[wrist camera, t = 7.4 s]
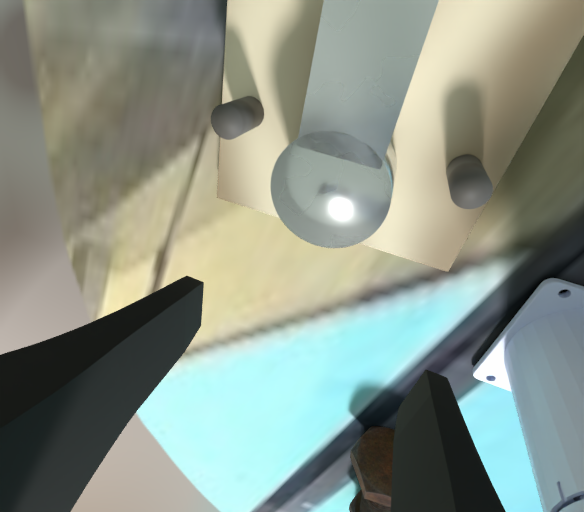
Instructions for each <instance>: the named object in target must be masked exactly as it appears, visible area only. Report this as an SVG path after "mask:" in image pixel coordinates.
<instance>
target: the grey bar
mask: <svg viewBox="0 0 584 512" xmlns="http://www.w3.org/2000/svg"><path fill="white" fill-rule="evenodd" d="M438 2H439V0H324V2H323V7H322V13H321V18H320V23H319V29H318V34H317V39H316V45H315V50H314V55H313V61H312V66H311V71H310V77H309V82H308V88H307V93H306V98H305V104H304V109H303V114H302V120H301V125H300V130H299V136H298V138H297V139H296V140H294V141H293V142H292V143H291V144H289V145H288V146H287V147H286V148H285V149H284V150H283V152H282V153H281V154H280V156H279V157H278V159H277V161H276V163H275V165H274V168H273V171H272V175H271V184H270V186H271V196H272V201H273V204H274V207H275V209H276V212H277V214H278V215H279V217H280V219H281V220H282V222H283V223H284V224H285V225H286V226H287V228H288V229H289V230H290V231H292V232H293V233H294V234H295V235H297V236H298V237H299V238H301V239H303V240H305V241H307V242H309V243H311V244H314V245H317V246H321V247H326V248H343V247H348V246H352V245H355V244H358V243H360V242H362V241H364V240H366V239H367V238H369V237H370V236H371V235H372V234H374V233H375V232H376V231H377V230H378V228H379V227H380V226H381V225H382V223H383V222H384V220H385V218H386V216H387V214H388V211H389V208H390V204H391V199H392V193H393V187H394V182H395V176H396V170H397V159H396V153H395V149H394V147H393V144H392V142H391V138H392V135H393V132H394V129H395V126H396V123H397V120H398V117H399V114H400V111H401V109H402V106H403V103H404V100H405V97H406V94H407V91H408V88H409V85H410V83H411V80H412V77H413V74H414V71H415V68H416V65H417V62H418V59H419V57H420V54H421V51H422V48H423V45H424V42H425V39H426V36H427V33H428V31H429V28H430V25H431V22H432V19H433V16H434V13H435V10H436V7H437V4H438Z"/></svg>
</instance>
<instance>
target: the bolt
mask: <svg viewBox="0 0 584 512" xmlns="http://www.w3.org/2000/svg"><path fill="white" fill-rule="evenodd" d="M394 434H395V430H394V429H390V428H387V427H381V426H372V427H370V428H369V429H368V430H367V431H366V432H365V433H364V434H363V435H362V436H361V437H360V439H359V440H358V441H357V442H356V444H355V445H354V447H353V448H352V450H351V454H350V458H351V461H352V464H353V467H354V470H355V473H356V476H357V478H358V481H359V484H360V487H361V490H360V491H359V492H358V494H357V495H356V496H355V498H354V499H353V500H352V502H351V503H350V507H349V510H350V512H391V492H392V463H393V441H394Z"/></svg>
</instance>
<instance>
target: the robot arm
mask: <svg viewBox="0 0 584 512" xmlns="http://www.w3.org/2000/svg"><path fill="white" fill-rule="evenodd" d="M203 285H204V282H201V281H199V280H196V279H194V278H191V277H189V276H185V277H183V278H181V279H179V280H177V281H175V282H173V283H171V284H170V285H168V286H166V287H164V288H162V289H160V290H158V291H156V292H154V293H152V294H150V295H148V296H146V297H144V298H142V299H140V300H138V301H136V302H134V303H132V304H130V305H128V306H126V307H124V308H122V309H120V310H118V311H116V312H114V313H111V314H109V315H107V316H105V317H102V318H100V319H98V320H96V321H93V322H91V323H89V324H87V325H84V326H82V327H79V328H77V329H74V330H72V331H69V332H67V333H64V334H62V335H59V336H56V337H54V338H51V339H48V340H46V341H43V342H40V343H37V344H34V345H31V346H28V347H24V348H21V349H18V350H15V351H11V352H8V353H5V354H2V355H0V512H70V511H71V510H72V508H73V506H74V505H75V503H76V502H77V500H78V498H79V497H80V495H81V494H82V492H83V490H84V489H85V487H86V485H87V484H88V482H89V481H90V479H91V478H92V476H93V474H94V473H95V472H96V470H97V468H98V467H99V465H100V464H101V462H102V461H103V459H104V458H105V456H106V454H107V453H108V451H109V450H110V448H111V447H112V445H113V444H114V442H115V441H116V440H117V438H118V436H119V435H120V434H121V432H122V431H123V429H124V428H125V426H126V425H127V423H128V422H129V420H130V419H131V418H132V416H133V415H134V414H135V413H136V411H137V410H138V409H139V407H140V406H141V405H142V404H143V403H144V401H145V400H146V399H147V398H148V396H149V395H150V394H151V393H152V392H153V390H154V389H155V388H156V387H157V385H158V384H159V383H160V382H161V380H162V379H163V378H164V377H165V376H166V374H167V373H168V372H169V371H170V369H171V368H172V367H173V366H174V364H175V363H176V362H177V361H178V359H179V358H180V357H181V356H182V354H183V353H184V352H185V350H186V349H187V347H188V346H189V344H190V342H191V341H192V339H193V338H194V336H195V334H196V333H197V331H198V330H199V328H200V326H201V316H202V301H203ZM564 289H567V290H568V291H567V292H565V293H559V292H560V291H561V290H564ZM473 375H474V377H475V378H477V379H479V380H481V381H484V382H487V383H490V384H492V385H495V386H498V387H501V388H503V389H506V390H509V391H511V392H512V394H513V398H514V402H515V406H516V409H517V413H518V417H519V421H520V425H521V428H522V432H523V436H524V440H525V444H526V447H527V451H528V455H529V459H530V463H531V466H532V470H533V474H534V478H535V482H536V486H537V489H538V493H539V497H540V501H541V505H542V508H543V512H584V287H583V286H580V285H577V284H574V283H571V282H567V281H564V280H561V279H557V278H549V279H546V280H544V281H543V282H542V283H541V284H540V285H539V286H538V288H537V289H536V290H535V291H534V293H533V294H532V295H531V296H530V298H529V299H528V300H527V301H526V303H525V304H524V305H523V306H522V308H521V309H520V310H519V311H518V313H517V314H516V315H515V316H514V318H513V319H512V320H511V321H510V323H509V324H508V325H507V326H506V328H505V329H504V330H503V331H502V333H501V334H500V335H499V336H498V338H497V339H496V340H495V341H494V343H493V344H492V345H491V346H490V348H489V349H488V350H487V351H486V353H485V354H484V355H483V356H482V358H481V359H480V360H479V361H478V363H477V364H476V365H475V366H474V368H473ZM488 375H492V376H488ZM391 512H505V510H504V508H503V506H502V503H501V501H500V499H499V497H498V495H497V493H496V491H495V489H494V487H493V485H492V483H491V481H490V479H489V476H488V474H487V472H486V470H485V468H484V465H483V463H482V461H481V459H480V456H479V454H478V452H477V450H476V447H475V445H474V443H473V440H472V438H471V436H470V433H469V431H468V428H467V426H466V424H465V421H464V419H463V416H462V414H461V411H460V409H459V406H458V404H457V401H456V399H455V396H454V393H453V391H452V388H451V386H450V383H449V381H448V379H447V378H446V377H444V376H441V375H439V374H436V373H434V372H431V371H428V370H425V372H424V373H423V374H422V376H421V377H420V379H419V380H418V381H417V383H416V384H415V385H414V387H413V388H412V390H411V391H410V392H409V394H408V395H407V397H406V398H405V399H404V401H403V402H402V404H401V405H400V406H399V409H398V415H397V421H396V427H395V434H394V441H393V463H392V492H391Z"/></svg>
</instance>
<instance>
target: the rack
mask: <svg viewBox="0 0 584 512" xmlns="http://www.w3.org/2000/svg"><path fill="white" fill-rule="evenodd" d="M323 2H324V0H228V1H227V19H226V38H225V56H224V75H223V93H222V104H221V105H218V106H217V107H215V108H214V110H213V112H212V115H211V123H212V127H213V129H214V131H215V132H216V133H217V134H218V135H219V136H220V149H219V168H218V186H217V198H219V199H223V200H226V201H229V202H232V203H235V204H238V205H241V206H244V207H247V208H251V209H254V210H257V211H260V212H263V213H266V214H269V215H272V216H275V217H278V218H280V217H279V215H278V214H277V212H276V209H275V207H274V204H273V201H272V196H271V186H270V184H271V175H272V171H273V168H274V165H275V163H276V161H277V159H278V157H279V156H280V154H281V153H282V152H283V150H284V149H285V148H286V147H287V146H288V145H289V144H291V143H292V142H293V141H294V140H296V139H297V138H298V136H299V130H300V125H301V120H302V114H303V109H304V104H305V98H306V93H307V88H308V82H309V77H310V71H311V66H312V61H313V55H314V50H315V45H316V39H317V34H318V29H319V23H320V18H321V13H322V7H323ZM583 35H584V0H439V2H438V4H437V7H436V10H435V13H434V16H433V19H432V22H431V25H430V28H429V31H428V33H427V36H426V39H425V42H424V45H423V48H422V51H421V54H420V57H419V59H418V62H417V65H416V68H415V71H414V74H413V77H412V80H411V83H410V85H409V88H408V91H407V94H406V97H405V100H404V103H403V106H402V109H401V111H400V114H399V117H398V120H397V123H396V126H395V129H394V132H393V135H392V138H391V142H392V144H393V147H394V149H395V153H396V159H397V170H396V176H395V182H394V187H393V193H392V199H391V204H390V208H389V211H388V214H387V216H386V218H385V220H384V222H383V223H382V225H381V226H380V227H379V228H378V230H377V231H376V232H375V233H374V234H372V235H371V236H370V237H369V238H367V239H366V240H364V241H362V242H360V243H359V244H362V245H366V246H369V247H372V248H375V249H378V250H381V251H384V252H387V253H390V254H393V255H397V256H400V257H403V258H406V259H409V260H412V261H415V262H418V263H421V264H425V265H428V266H431V267H434V268H437V269H440V270H443V271H446V272H448V271H449V269H450V267H451V265H452V264H453V262H454V260H455V258H456V257H457V255H458V253H459V252H460V250H461V248H462V246H463V245H464V243H465V241H466V239H467V238H468V236H469V234H470V232H471V231H472V229H473V227H474V225H475V224H476V222H477V220H478V218H479V217H480V215H481V213H482V211H483V210H484V208H485V206H486V204H487V203H488V201H489V199H490V197H491V196H492V194H493V192H494V190H495V189H496V187H497V185H498V183H499V182H500V180H501V178H502V176H503V175H504V173H505V171H506V169H507V168H508V166H509V164H510V163H511V161H512V159H513V157H514V156H515V154H516V152H517V150H518V149H519V147H520V145H521V143H522V142H523V140H524V138H525V136H526V135H527V133H528V131H529V129H530V128H531V126H532V124H533V122H534V121H535V119H536V117H537V115H538V114H539V112H540V110H541V108H542V107H543V105H544V103H545V101H546V100H547V98H548V96H549V94H550V93H551V91H552V89H553V87H554V86H555V84H556V82H557V81H558V79H559V77H560V75H561V74H562V72H563V70H564V68H565V67H566V65H567V63H568V61H569V60H570V58H571V56H572V54H573V53H574V51H575V49H576V47H577V46H578V44H579V42H580V40H581V39H582V37H583Z"/></svg>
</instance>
